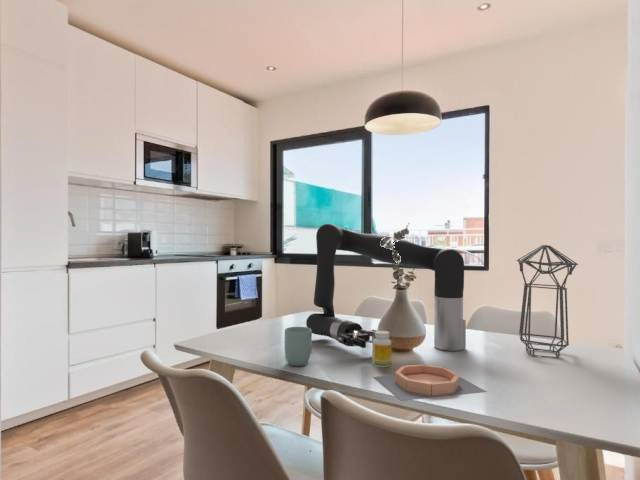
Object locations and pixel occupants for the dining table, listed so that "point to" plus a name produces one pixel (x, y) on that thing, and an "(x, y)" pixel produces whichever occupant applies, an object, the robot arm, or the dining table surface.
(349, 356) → the dining table surface
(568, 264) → the geometric lantern
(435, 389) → the bowl
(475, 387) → the placemat
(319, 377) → the dining table surface
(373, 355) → the supplement bottle
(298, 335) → the cup
